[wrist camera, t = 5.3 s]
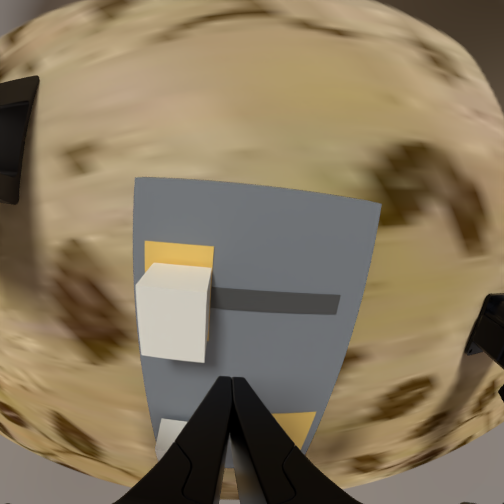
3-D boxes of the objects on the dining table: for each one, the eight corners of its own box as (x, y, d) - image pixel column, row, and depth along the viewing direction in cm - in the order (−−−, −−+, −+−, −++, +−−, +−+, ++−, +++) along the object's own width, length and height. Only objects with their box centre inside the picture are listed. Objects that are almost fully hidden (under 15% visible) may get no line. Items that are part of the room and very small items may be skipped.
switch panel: (369, 200, 15) (382, 204, 14) (296, 454, 22) (299, 466, 20) (144, 177, 14) (134, 177, 13) (163, 449, 21) (160, 462, 19)
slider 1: (211, 267, 14) (206, 292, 11) (208, 329, 15) (204, 362, 12) (153, 262, 14) (135, 285, 11) (155, 323, 15) (141, 355, 12)
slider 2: (202, 423, 17) (200, 454, 14) (202, 447, 18) (201, 476, 15) (161, 418, 17) (154, 449, 14) (166, 443, 18) (161, 472, 15)
